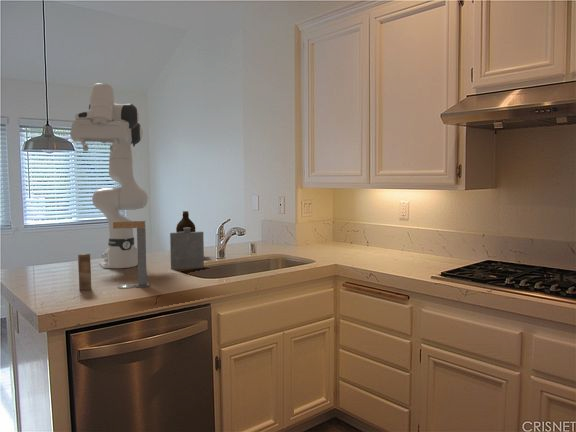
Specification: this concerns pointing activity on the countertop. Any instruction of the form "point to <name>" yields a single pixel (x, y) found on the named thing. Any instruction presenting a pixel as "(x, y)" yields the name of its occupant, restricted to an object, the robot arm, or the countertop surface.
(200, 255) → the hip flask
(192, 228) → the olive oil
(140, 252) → the keeper
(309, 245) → the countertop surface
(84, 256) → the brown tall wooden block
